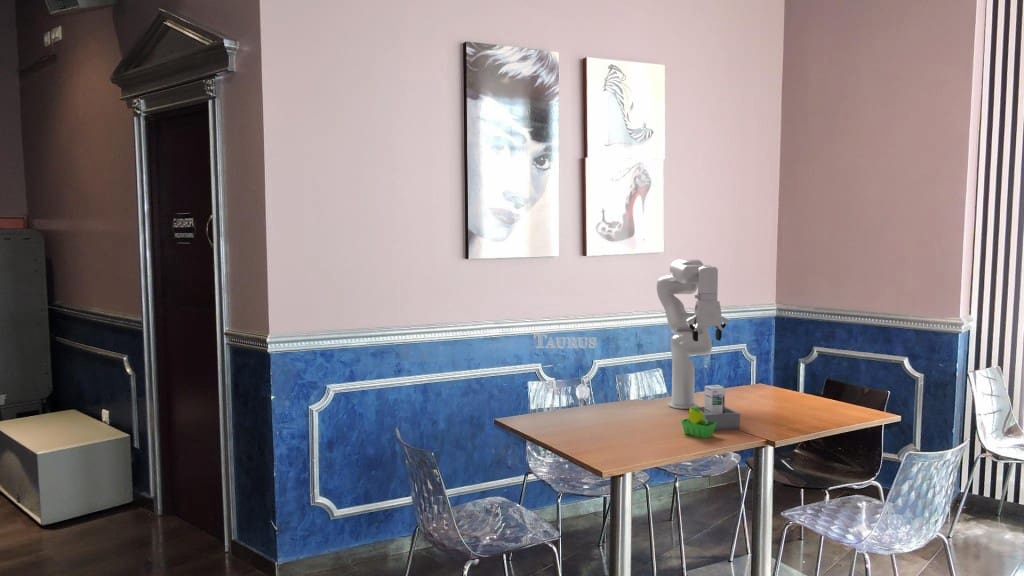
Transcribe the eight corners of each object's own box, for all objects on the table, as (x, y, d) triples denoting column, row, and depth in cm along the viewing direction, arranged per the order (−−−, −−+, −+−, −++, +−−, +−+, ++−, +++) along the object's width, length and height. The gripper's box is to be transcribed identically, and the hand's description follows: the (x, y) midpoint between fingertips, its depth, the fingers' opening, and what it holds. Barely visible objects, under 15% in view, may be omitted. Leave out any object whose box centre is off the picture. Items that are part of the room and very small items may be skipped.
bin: (690, 422, 317) (690, 407, 317) (723, 420, 320) (723, 405, 319) (705, 430, 303) (705, 415, 303) (739, 428, 306) (739, 413, 306)
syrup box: (711, 425, 308) (711, 387, 307) (704, 421, 314) (704, 384, 313) (724, 424, 309) (725, 387, 308) (717, 420, 315) (717, 384, 314)
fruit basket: (717, 436, 296) (718, 405, 295) (704, 440, 290) (705, 409, 289) (691, 430, 304) (691, 401, 303) (677, 434, 298) (678, 404, 297)
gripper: (691, 298, 311) (690, 342, 312) (732, 298, 314) (731, 341, 315) (683, 297, 318) (682, 340, 319) (723, 296, 321) (722, 338, 322)
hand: (706, 340), depth 317 cm, fingers open, 9 cm apart
